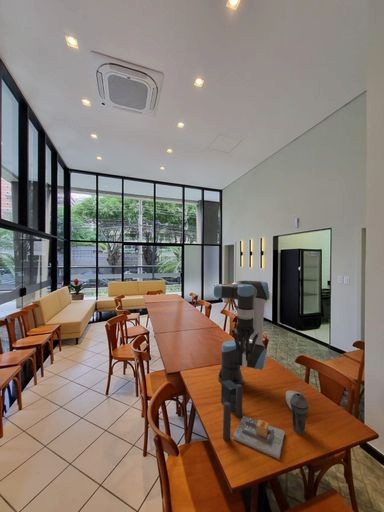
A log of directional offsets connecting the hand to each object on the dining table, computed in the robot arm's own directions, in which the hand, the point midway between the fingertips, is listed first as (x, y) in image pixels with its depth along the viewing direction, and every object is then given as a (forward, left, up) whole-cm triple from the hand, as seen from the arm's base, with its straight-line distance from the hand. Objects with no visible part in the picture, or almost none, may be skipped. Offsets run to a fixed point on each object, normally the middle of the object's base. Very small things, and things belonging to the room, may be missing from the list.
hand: (244, 366), depth 106 cm
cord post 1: (-2, -16, -24) cm, 29 cm away
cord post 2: (-2, 0, -24) cm, 24 cm away
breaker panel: (+9, -8, -24) cm, 27 cm away
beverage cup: (+23, +5, -24) cm, 34 cm away
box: (-9, +5, -24) cm, 26 cm away
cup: (+19, +21, -24) cm, 37 cm away
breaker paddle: (+10, -8, -22) cm, 26 cm away
